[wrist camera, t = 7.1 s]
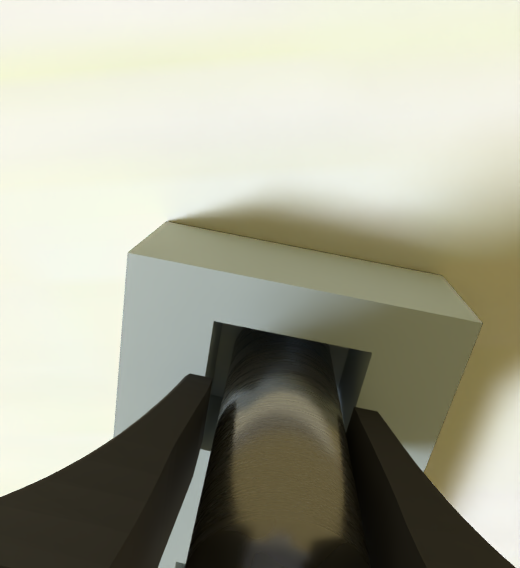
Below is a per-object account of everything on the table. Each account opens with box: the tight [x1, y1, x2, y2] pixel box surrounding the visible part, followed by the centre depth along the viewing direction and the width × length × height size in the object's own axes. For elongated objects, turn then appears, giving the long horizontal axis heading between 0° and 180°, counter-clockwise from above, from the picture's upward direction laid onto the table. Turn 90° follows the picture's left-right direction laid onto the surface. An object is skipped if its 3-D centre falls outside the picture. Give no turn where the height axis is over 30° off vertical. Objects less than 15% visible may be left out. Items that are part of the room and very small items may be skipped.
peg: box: [185, 327, 371, 568], centre depth 11 cm, size 3×3×8 cm
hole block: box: [114, 221, 483, 568], centre depth 16 cm, size 16×9×4 cm, turn 170°
